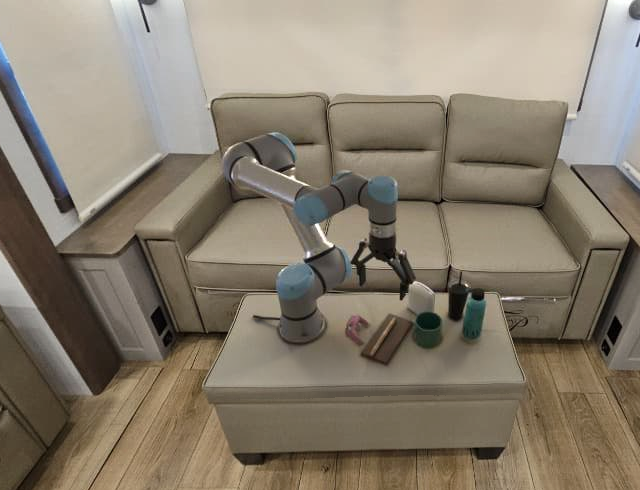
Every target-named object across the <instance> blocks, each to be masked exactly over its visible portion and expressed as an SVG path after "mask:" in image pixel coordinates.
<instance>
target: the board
mask: <svg viewBox="0 0 640 490" xmlns="http://www.w3.org/2000/svg"><path fill="white" fill-rule="evenodd" d="M393 318H396V319H397V321H396V322H395V324H394V325H393V327H392V328H391V330H390V331H389V333H388V334H387V336H386V337H385V339H384V340H383V342H382V343H381V345H380V346H379V348H378V349H377V351H376V352H375V354H374V355H373V356H370V355H369V353H370V352H371V350H372V349H373V347H374V346H375V344H376V343H377V341H378V340H379V339H380V337H381V336H382V334H383V333H384V331H385V330H386V328H387V327H388V325H389V324H390V322H391V321H392V319H393ZM412 325H413V321H412V320H409V319H406V318H404V317H400V316H397V315H395V314H392V313H388V315H387V316H386V318H385V319H384V320H383V322H382V323H381V324H380V326H379V328H378V329H377V330H376V332H374V334H373V336H372V337H371V338H370V340H369V341H368V342H367V344H366V345H365V347H364V348H363V350H362V351H361V353H360V354H361V356H364V357H366V358H368V359H371V360H373V361H376V362H378V363H380V364H383V365H388V363H389V361H390V360H391V358H392V357H393V355H394V354H395V352H396V350H397V349H398V347H399V346H400V344H401V342H402V341H403V339H404V338H405V336H406V335H407V333H408V331H409V330H410V328H411V327H412Z"/></svg>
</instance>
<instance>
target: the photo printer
mask: <svg viewBox="0 0 640 490" xmlns="http://www.w3.org/2000/svg"><path fill="white" fill-rule="evenodd" d="M407 294H408V296H407V297H408V300H407V309H409V310H410V311H412V312H413V313H414V314H416V316H417V315H418V314H419V313H421V312H425V311H429V312H434V313H435V301H436V293H435V292H434V290H432V289H430V288H429V287H428V286H427V285H426V284H424V283H422V282H419V281H416V280H415V281H414V282H413V283H412V284H409V289H408V293H407Z"/></svg>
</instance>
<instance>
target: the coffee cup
mask: <svg viewBox="0 0 640 490" xmlns="http://www.w3.org/2000/svg"><path fill="white" fill-rule="evenodd" d="M413 325H414V326H413V339H414V341H415V343H416V344H417V345H418V346H420V347H422V348H433V347H436V346H437V345H439V343H441V340H442V332H443V330H442V329H443V319H442V317H441V316H440V315H439V314H438V313H437V312H435V311H434V312H429V311H425V312H421V313H419V314H418V315H417V314H416V316H415V317H414V323H413Z"/></svg>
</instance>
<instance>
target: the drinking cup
mask: <svg viewBox="0 0 640 490" xmlns="http://www.w3.org/2000/svg"><path fill="white" fill-rule="evenodd" d="M462 276H463V271H462V270H460V271H459V277H458V279H456V278H455V279H452V280H451V281H449V282H448V283H447V289H448V303H447V305H448V313H447V314H448V316H447V317H448V318H449V319H450V320H452V321H460V320H461V319H462V318H463V315H464V312H465V309H466V304H467V299H468V298H469V294H470V291H471V288H472V287H471V285H470V284H469V282H467V281H466V280H464V279H462Z"/></svg>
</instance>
